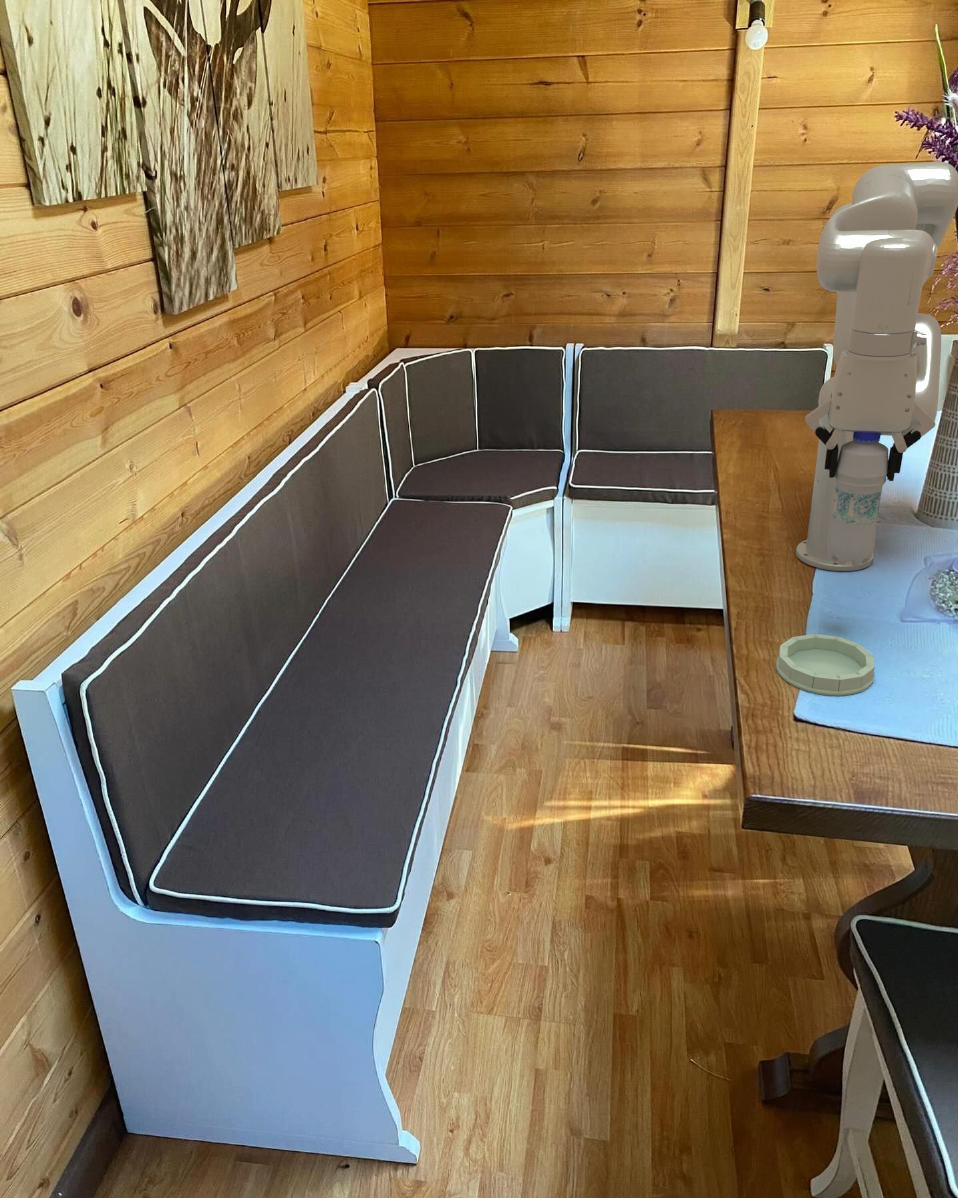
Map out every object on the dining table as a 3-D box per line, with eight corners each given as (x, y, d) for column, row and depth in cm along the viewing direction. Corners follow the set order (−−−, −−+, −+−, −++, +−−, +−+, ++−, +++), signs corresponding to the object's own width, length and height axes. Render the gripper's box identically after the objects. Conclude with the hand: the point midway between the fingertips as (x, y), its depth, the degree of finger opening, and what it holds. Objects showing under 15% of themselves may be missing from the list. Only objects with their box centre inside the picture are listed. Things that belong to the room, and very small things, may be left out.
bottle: (832, 546, 132) (851, 413, 123) (879, 556, 128) (902, 420, 119) (815, 562, 128) (833, 426, 119) (863, 574, 124) (886, 433, 115)
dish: (777, 643, 130) (779, 629, 129) (871, 654, 126) (873, 639, 125) (774, 688, 119) (776, 673, 118) (876, 701, 116) (879, 685, 115)
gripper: (952, 337, 114) (927, 470, 123) (808, 335, 120) (794, 463, 128) (960, 350, 108) (933, 489, 116) (808, 348, 113) (792, 481, 122)
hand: (860, 475), depth 122 cm, fingers closed on bottle, 6 cm apart
